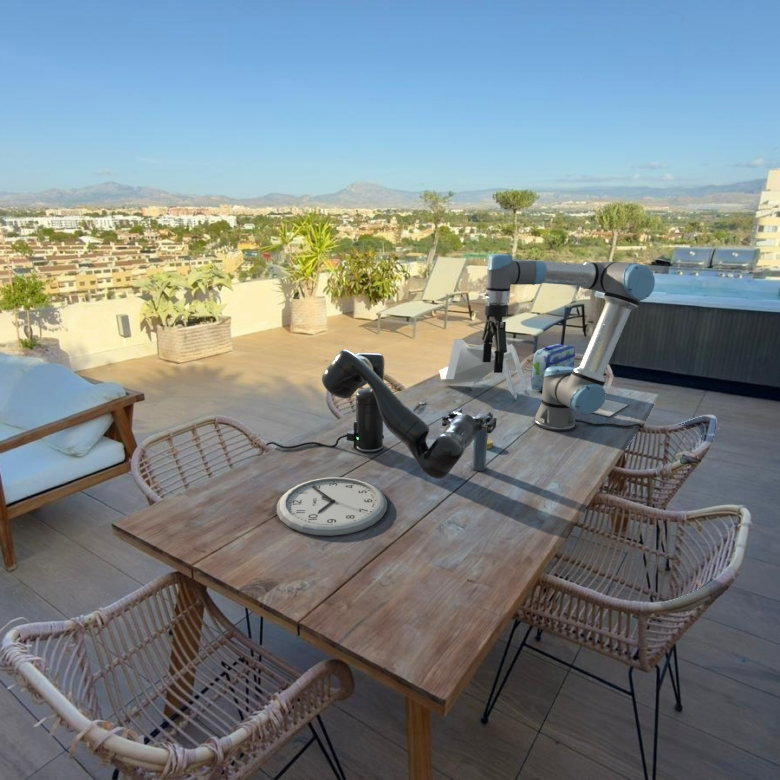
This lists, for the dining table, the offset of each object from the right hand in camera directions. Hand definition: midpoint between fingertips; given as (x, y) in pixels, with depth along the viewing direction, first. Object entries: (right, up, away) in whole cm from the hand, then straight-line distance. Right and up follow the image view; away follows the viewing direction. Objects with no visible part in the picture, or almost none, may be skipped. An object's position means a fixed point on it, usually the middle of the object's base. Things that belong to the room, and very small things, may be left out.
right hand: (492, 367), depth 175 cm
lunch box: (+43, -7, +76) cm, 87 cm away
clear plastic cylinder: (-6, -33, -9) cm, 34 cm away
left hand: (-10, -14, -25) cm, 30 cm away
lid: (-1, -26, +8) cm, 27 cm away
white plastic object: (+7, -9, +68) cm, 69 cm away
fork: (-22, -15, +47) cm, 54 cm away
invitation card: (+57, -15, +51) cm, 78 cm away
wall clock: (-50, -39, -32) cm, 71 cm away
